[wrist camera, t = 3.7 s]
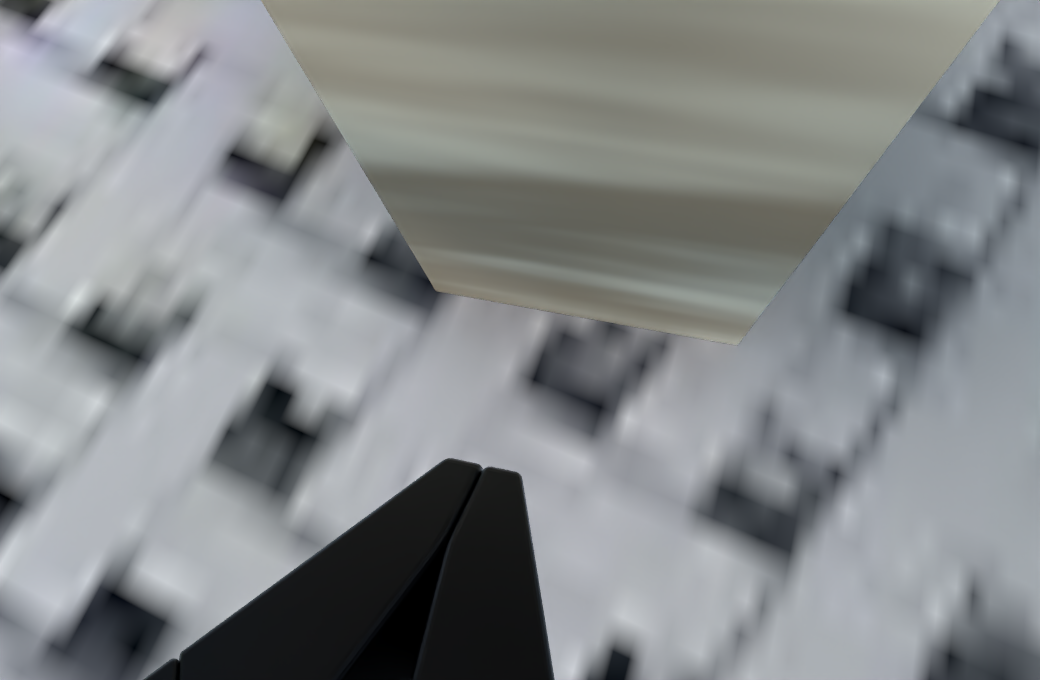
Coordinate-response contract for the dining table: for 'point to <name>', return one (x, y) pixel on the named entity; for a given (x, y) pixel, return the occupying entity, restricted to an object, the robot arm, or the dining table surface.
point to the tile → (622, 137)
